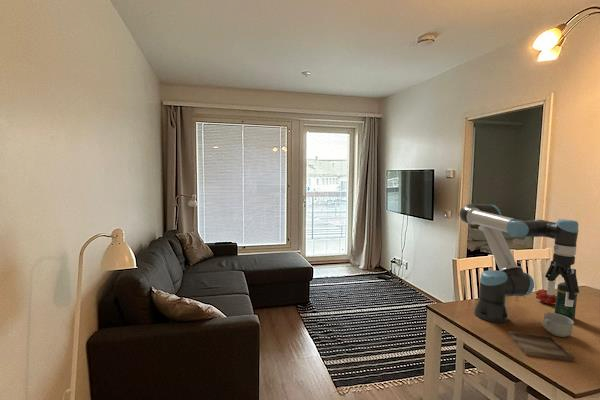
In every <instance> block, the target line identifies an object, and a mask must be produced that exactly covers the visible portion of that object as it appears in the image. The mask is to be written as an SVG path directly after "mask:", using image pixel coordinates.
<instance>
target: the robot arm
mask: <svg viewBox="0 0 600 400" xmlns="http://www.w3.org/2000/svg"><path fill="white" fill-rule="evenodd" d="M459 218H460V219H461V221H462V222H463V223H465V224H469V225H474V226H475V225H476V226H477V228H478V230H479V231H482V232H483V234H484V237H485V239H486V242H487V244H488V247H489V249H490V251H491V254H492V255H493V258H494V260H495V263H496V265H497V267H498V269H499V270H498V269H497V270H496V269H495V270H494V269H488V270H484V271H483V272H481V273H480V277H479V293H478V294H479V295H478V300H477V303H476V304H475V307H474V309H473V313H474V315H475V316H476V317H478V318H479V319H482V320H485V321H487V322H493V323H499V324H500V323H502V324H503V323H506V322H508V320H509V315H508V314H509V313H508V311H507V307H506V299H507V298H509V297H524V296H529V295H531V294H532V292H533V291H534V288H535V281H534V278H533V277H532V276H531V274H528V273H527V272H524V270H523V268H522V266H519V265H517V262H516V260H515V258H514V256H513V253H512V251H511V249H510V248H509V244H508V243H507V241H506V239H505V236H504V235H503V232H504V233H507V234H508V235H509V236H511V237H513V238H532V237H533V238H537V237H538V238H540V237H541V238H542V237H543V238H548V239H549V238H550V239H552V240H554V246H553V252H554V253H553V255H552V260H551V261H550V264H549V267H548V268H547V271H546V273H545V278H547V288H546V289H547V294H548V295H554V294H555V289H556V279H557V278H559V276H561V278H563V282H565V284H566V287H567V291H566V298H565V306H567V307H573V302H574V295H575V293H577V294H579V293H580V289H579V284H578V283H579V282H578V278H577V269H575V268H572V266H574V264H575V261H576V257H575V255H577V253H576V252H577V240H578V235H579V221H577V220H573V219H567V218H566V219H561V218H560V219H559V218H558V219H557V220H556V222H553V221H549V220H544V219H534V220H522V219H517V218H513V217H509V216H504V215H502V213H501V210H500V209H499V207H498V206H496V205H494V204H489V203H484V204H483V203H481V204H479V203H469V204H465V205H463V206H462V207H461V208H460V210H459ZM506 297H507V298H506Z"/></svg>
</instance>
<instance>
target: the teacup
mask: <svg viewBox="0 0 600 400" xmlns="http://www.w3.org/2000/svg"><path fill="white" fill-rule="evenodd" d="M543 315H544V317H543V320H542V323H541V324H542V326H543V328H544V329H545V330H546V331H547V332H548V333H549V334H551V335H552V336H555V337H559V338H560V337H561V338H564V337H565V338H566V337H569V336H571V334H572V332H573V328H574V324H575V321H574V320H571V319H570V318H568V317H566V316H563V315H560V314H556V313H555V312H545V313H544V314H543Z"/></svg>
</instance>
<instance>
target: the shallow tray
mask: <svg viewBox="0 0 600 400" xmlns="http://www.w3.org/2000/svg"><path fill="white" fill-rule="evenodd" d="M508 336H509V337H510V338H511V340H513V342H514V343H515V344H516V346H518V348H519V349H520V350H521V351H522V353H523V355H525V356H531V357H538V358H546V359H552V360H561V361H565V362H566V361H567V362H573V363H574V362H575V356H573V354H572V353H570V352H569V351H568V350H567V349H566V348H565V347H564V346H563V345H561V343H560V342H558V341H557V339H555V338H554V337H553V335H552V336H551V335H543V334H536V333H527V332H520V331H513V330H512V331H511V330H509V331H508Z"/></svg>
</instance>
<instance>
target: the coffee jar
mask: <svg viewBox="0 0 600 400" xmlns="http://www.w3.org/2000/svg"><path fill="white" fill-rule="evenodd" d="M566 291H567V287H566V284H565V281H562V282H560V283H558V284H557V287H556V296H557V297H556V303H555V305H554V306H555V307H554V313H556V314H560V315H563V316H566V317H568V318H570V319H571V320H573V321H574V320H575V318H576V308H577V299H578V293H575V295H574V302H573V307H567V306H565V298H566Z"/></svg>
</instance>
